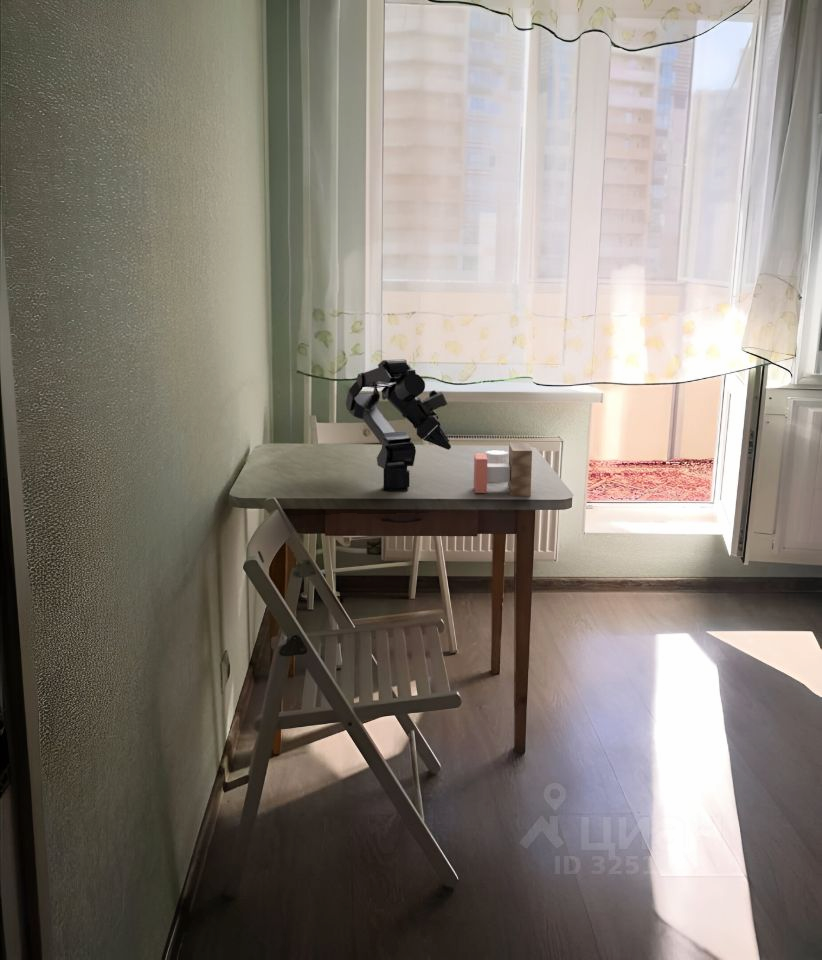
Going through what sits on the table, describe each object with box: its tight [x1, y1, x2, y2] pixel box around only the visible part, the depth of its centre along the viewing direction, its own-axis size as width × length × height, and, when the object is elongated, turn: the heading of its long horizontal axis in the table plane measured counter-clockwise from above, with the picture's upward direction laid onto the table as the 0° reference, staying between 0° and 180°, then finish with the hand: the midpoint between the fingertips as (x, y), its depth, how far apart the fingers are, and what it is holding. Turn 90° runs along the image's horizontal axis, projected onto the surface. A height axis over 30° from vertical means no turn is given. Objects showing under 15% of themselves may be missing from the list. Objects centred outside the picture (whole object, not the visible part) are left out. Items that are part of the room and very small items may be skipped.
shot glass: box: [484, 449, 509, 464], centre depth 260 cm, size 7×7×7 cm
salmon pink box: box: [473, 452, 510, 494], centre depth 243 cm, size 9×7×9 cm
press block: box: [507, 442, 533, 497], centre depth 243 cm, size 5×10×12 cm, turn 179°
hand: (449, 445), depth 242 cm, fingers open, 9 cm apart
